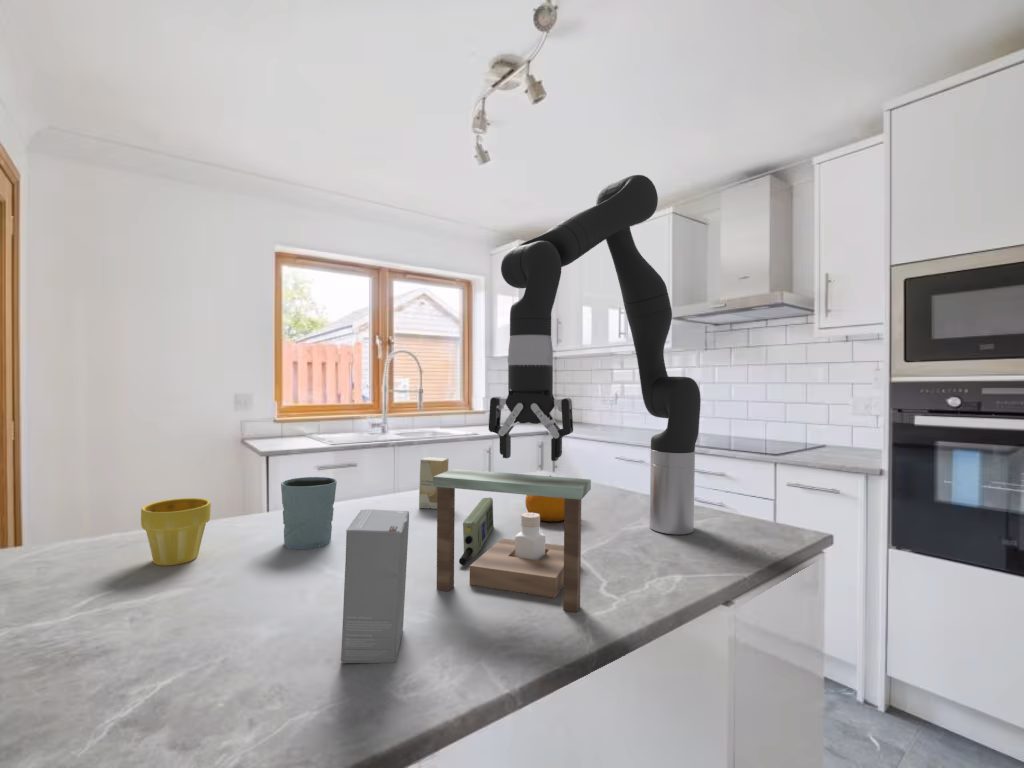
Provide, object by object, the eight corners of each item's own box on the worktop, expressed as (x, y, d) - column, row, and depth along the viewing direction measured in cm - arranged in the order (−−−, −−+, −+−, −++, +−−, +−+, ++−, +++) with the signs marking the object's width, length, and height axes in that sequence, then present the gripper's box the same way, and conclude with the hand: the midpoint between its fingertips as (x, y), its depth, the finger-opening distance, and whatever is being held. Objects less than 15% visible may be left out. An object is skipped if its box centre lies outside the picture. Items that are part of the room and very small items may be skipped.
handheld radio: (495, 527, 113) (472, 569, 89) (481, 527, 114) (453, 569, 89) (494, 497, 113) (471, 530, 89) (480, 497, 114) (452, 530, 89)
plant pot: (218, 559, 92) (218, 504, 91) (149, 575, 84) (149, 515, 84) (200, 545, 99) (200, 494, 99) (134, 559, 91) (134, 504, 91)
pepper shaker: (527, 564, 91) (528, 510, 90) (546, 570, 88) (547, 514, 88) (513, 571, 87) (514, 515, 87) (532, 577, 85) (533, 519, 85)
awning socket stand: (479, 551, 97) (480, 458, 97) (602, 567, 89) (603, 466, 89) (432, 590, 79) (433, 476, 79) (579, 614, 72) (581, 488, 71)
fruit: (578, 525, 115) (579, 480, 114) (525, 525, 115) (526, 480, 115) (572, 511, 126) (573, 471, 126) (524, 511, 126) (525, 470, 126)
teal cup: (268, 546, 99) (269, 483, 99) (308, 531, 108) (308, 474, 108) (310, 553, 95) (310, 488, 95) (347, 537, 104) (347, 478, 104)
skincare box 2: (418, 508, 128) (418, 459, 128) (424, 504, 132) (424, 456, 132) (443, 509, 127) (443, 460, 127) (448, 505, 131) (448, 457, 131)
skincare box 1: (354, 630, 67) (354, 508, 66) (410, 628, 67) (411, 507, 67) (337, 667, 58) (338, 527, 58) (402, 664, 59) (403, 526, 59)
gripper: (576, 363, 88) (576, 457, 89) (498, 363, 93) (498, 453, 93) (566, 362, 81) (566, 465, 82) (482, 363, 86) (482, 460, 86)
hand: (530, 458), depth 87 cm, fingers open, 8 cm apart
